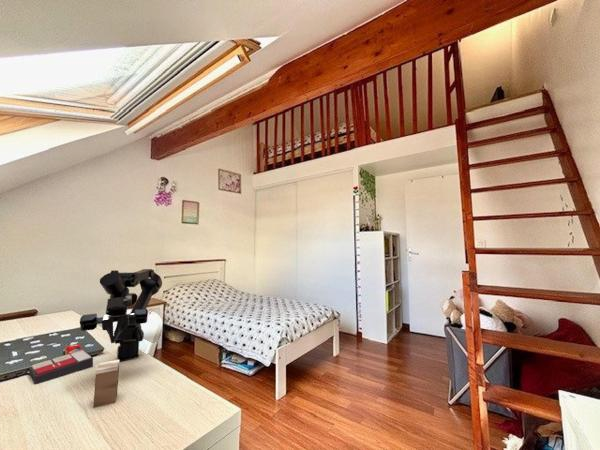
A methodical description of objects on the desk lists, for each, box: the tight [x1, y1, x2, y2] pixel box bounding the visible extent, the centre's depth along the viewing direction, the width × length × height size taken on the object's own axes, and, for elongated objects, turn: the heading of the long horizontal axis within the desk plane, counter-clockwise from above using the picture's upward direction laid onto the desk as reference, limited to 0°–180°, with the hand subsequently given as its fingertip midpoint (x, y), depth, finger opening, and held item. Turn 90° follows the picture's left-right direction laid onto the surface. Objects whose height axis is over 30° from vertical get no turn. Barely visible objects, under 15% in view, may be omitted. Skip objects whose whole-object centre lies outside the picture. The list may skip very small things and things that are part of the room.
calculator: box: [28, 350, 94, 385], centre depth 90 cm, size 11×4×15 cm
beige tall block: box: [92, 359, 120, 409], centre depth 73 cm, size 5×5×10 cm
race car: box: [62, 343, 84, 356], centre depth 103 cm, size 13×5×4 cm, turn 49°
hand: (112, 342), depth 81 cm, fingers closed
